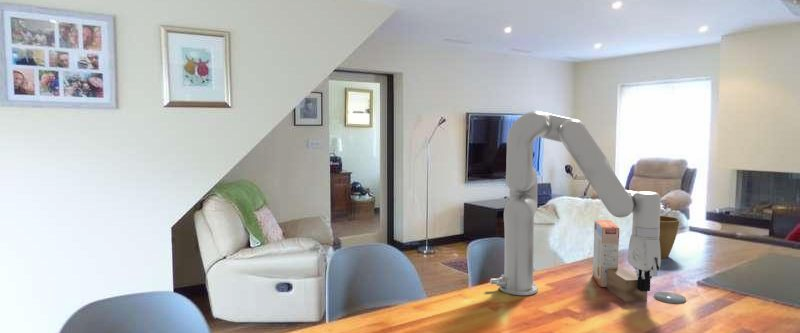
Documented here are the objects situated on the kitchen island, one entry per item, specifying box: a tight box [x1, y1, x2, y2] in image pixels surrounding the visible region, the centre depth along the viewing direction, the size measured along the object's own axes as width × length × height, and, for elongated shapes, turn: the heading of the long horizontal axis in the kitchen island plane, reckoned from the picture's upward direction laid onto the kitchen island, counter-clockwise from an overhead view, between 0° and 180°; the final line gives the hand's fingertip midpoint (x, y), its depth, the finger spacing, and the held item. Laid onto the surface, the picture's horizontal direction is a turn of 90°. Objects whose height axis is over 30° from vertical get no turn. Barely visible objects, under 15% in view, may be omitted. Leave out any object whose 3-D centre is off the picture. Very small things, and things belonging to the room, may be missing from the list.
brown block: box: [606, 268, 648, 302], centre depth 165 cm, size 7×12×7 cm, turn 4°
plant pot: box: [658, 215, 680, 259], centre depth 212 cm, size 15×15×16 cm
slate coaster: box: [653, 291, 687, 304], centre depth 162 cm, size 9×9×1 cm
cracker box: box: [592, 219, 620, 288], centre depth 178 cm, size 14×6×21 cm, turn 169°
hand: (643, 290), depth 157 cm, fingers closed
